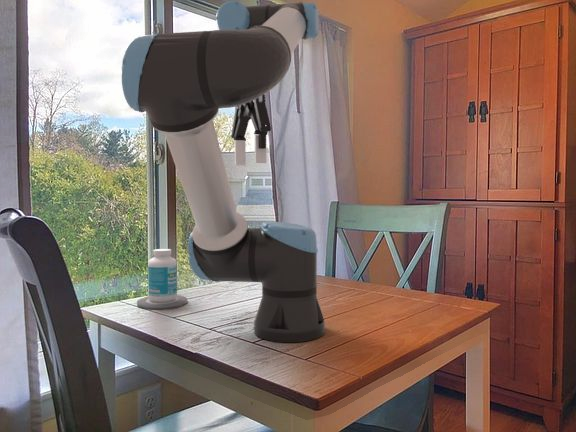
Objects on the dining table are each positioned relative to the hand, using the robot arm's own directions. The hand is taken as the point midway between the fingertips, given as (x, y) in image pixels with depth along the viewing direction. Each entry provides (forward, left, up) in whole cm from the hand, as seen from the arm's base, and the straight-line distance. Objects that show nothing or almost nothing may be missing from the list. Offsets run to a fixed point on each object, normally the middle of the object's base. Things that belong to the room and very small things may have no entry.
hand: (249, 164), depth 120 cm
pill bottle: (+16, +19, -36) cm, 44 cm away
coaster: (+16, +19, -37) cm, 44 cm away
